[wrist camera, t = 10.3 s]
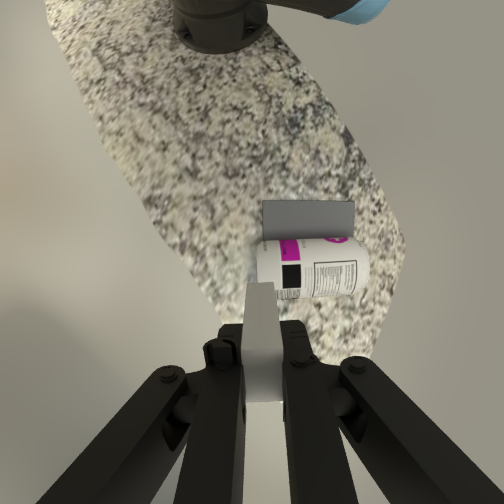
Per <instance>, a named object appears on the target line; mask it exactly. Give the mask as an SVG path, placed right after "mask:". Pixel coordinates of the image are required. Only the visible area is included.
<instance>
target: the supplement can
mask: <svg viewBox="0 0 504 504" xmlns="http://www.w3.org/2000/svg"><path fill="white" fill-rule="evenodd" d="M256 261H257V282H258V283H261V282H274V288H275V294H276V300H283V299H300V298H314V297H328V296H340V295H352V294H355V293H356V292H358V291H359V290H361V289H364V288H365V287H366V285H367V283H368V279H369V271H370V265H369V256H368V252H367V249H366V246H365V244H364V243H363V242H362V241H358V240H356V239H354V238H352V237H340V238H317V239H294V240H273V241H261V242H260V243H259V245H257V246H256Z"/></svg>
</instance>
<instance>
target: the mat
mask: <svg viewBox="0 0 504 504" xmlns="http://www.w3.org/2000/svg"><path fill="white" fill-rule="evenodd" d="M354 208H355V202H354V201H263V241H273V240H294V239H317V238H340V237H352V238H353V235H354Z"/></svg>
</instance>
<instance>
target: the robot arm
mask: <svg viewBox="0 0 504 504" xmlns="http://www.w3.org/2000/svg"><path fill="white" fill-rule="evenodd" d="M172 1H173V3H174V5H175V7H174V15H173V25H174V29H175V32H176V33H177V35H178V37H179V39H180V40H181V41H182V42H183V43H184V44H185V45H186V46H187V47H189V48H191V49H193V50H195V51H198V52H201V53H206V54H224V53H230V52H234V51H237V50H240V49H242V48H245V47H247V46H248V45H250V44H252V43H253V42H254V41H256V40H257V39H258V38H259V37H260V36H261V34H262V33H263V31H264V30H265V28H266V25H267V18H268V10H267V6H266V4H272V5H278V6H283V7H288V8H293V9H297V10H302V11H306V12H310V13H314V14H317V15H321V16H323V17H324V18H326V19H335V20H339V21H342V22H346V23H350V24H354V25H359V24H365V23H367V22H370V21H371V20H373V19H374V18H375V17H377V16H378V15H379V14H380V13H381V12H382V10H383V9H384V8H385V7H386V6H387V4H388V3H389V1H390V0H172ZM203 351H204V357H205V362H206V367H205V368H204V369H203V370H200V371H197V372H192V373H187V374H185V371H184V370H183V369H182V368H181V367H178V366H174V365H168V366H163V367H160V368H158V369H156V370H155V371H154V372H153V373H152V374H151V375H150V376H149V377H148V379H147V380H146V381H145V382H144V383H143V384H142V385H141V386H140V388H139V389H138V390H137V391H136V392H135V393H134V394H133V396H132V397H131V398H130V399H129V400H128V401H127V402H126V403H125V405H124V406H123V407H122V408H121V409H120V410H119V411H118V413H117V414H116V415H115V416H114V417H113V418H112V419H111V420H110V421H109V423H108V424H107V425H106V426H105V427H104V428H103V429H102V430H101V432H100V433H99V434H98V435H97V436H96V437H95V438H94V439H93V440H92V442H91V443H90V444H89V445H88V446H87V448H85V449H84V451H83V452H82V453H81V454H80V455H79V456H78V457H77V458H76V459H75V461H74V462H73V463H72V464H71V465H70V466H69V467H68V468H67V470H66V471H65V472H64V473H63V474H62V475H61V476H60V477H59V479H58V480H57V481H56V482H55V483H54V484H53V485H52V486H51V487H50V488H49V490H48V491H47V492H46V493H45V494H44V495H43V496H42V497H41V498H40V500H39V501H38V502H37V503H36V504H150V503H151V501H152V499H153V498H154V496H155V495H156V493H157V491H158V490H159V488H160V487H161V485H162V483H163V482H164V480H165V479H166V477H167V475H168V474H169V472H170V470H171V469H172V467H173V465H174V463H175V462H176V460H177V459H178V457H179V455H180V453H181V452H182V450H183V448H184V447H185V445H186V443H187V446H186V449H185V454H184V458H183V463H182V467H181V471H180V475H179V480H178V484H177V489H176V494H175V498H174V502H173V504H242V501H243V479H244V456H245V432H246V405H245V403H246V402H270V401H283V422H284V424H285V435H286V447H287V457H288V458H287V459H288V471H289V484H290V496H291V504H359V503H358V499H357V495H356V491H355V487H354V483H353V479H352V475H351V471H350V468H349V464H348V460H347V456H346V452H345V449H344V445H343V441H342V437H341V434H340V430H339V428H340V429H341V431H342V433H343V434H344V435H345V437H346V439H347V440H348V442H349V443H350V445H351V446H352V448H353V449H354V451H355V452H356V454H357V455H358V457H359V458H360V460H361V461H362V463H363V464H364V466H365V467H366V469H367V470H368V472H369V473H370V475H371V476H372V478H373V479H374V480H375V482H376V484H377V485H378V486H379V488H380V489H381V491H382V492H383V494H384V495H385V497H386V498H387V500H388V501H389V503H390V504H504V493H503V492H502V491H501V490H500V489H499V488H498V487H497V486H496V485H495V484H494V483H493V482H492V481H491V480H490V479H489V478H488V477H487V476H486V475H485V474H484V473H483V472H482V471H481V470H480V469H479V468H478V467H477V466H476V464H475V463H474V462H473V461H471V459H469V457H468V456H467V455H466V454H465V453H464V452H463V451H462V450H461V449H460V448H459V447H458V446H457V445H456V444H455V443H454V442H453V441H452V440H451V439H450V438H449V437H448V436H447V435H446V434H445V433H444V432H443V431H442V430H441V429H440V428H439V427H438V426H437V425H436V424H435V423H434V422H433V421H432V420H431V419H430V418H429V417H428V416H427V415H426V414H425V413H424V412H423V411H422V410H421V409H420V408H419V407H418V406H417V405H416V404H415V403H414V402H413V401H412V400H411V399H410V398H409V397H408V396H407V395H406V394H405V393H404V392H403V391H402V390H401V389H400V388H399V387H398V386H397V385H396V384H395V383H394V382H393V381H392V380H391V379H390V378H389V377H388V376H387V375H386V374H385V373H384V372H383V371H382V370H381V369H380V368H379V367H378V366H377V365H376V364H375V363H374V362H373V361H371V360H370V359H368V358H366V357H362V356H352V357H348V358H346V359H344V360H343V361H342V362H341V364H340V366H337V365H328V364H324V363H322V362H320V361H319V359H318V357H317V356H316V355H314V354H313V351H312V348H311V344H310V341H309V338H308V334H307V332H306V328H305V325H304V324H303V323H302V322H301V321H300V320H287V321H279V315H278V308H277V301H276V294H275V288H274V282H261V283H247V288H246V299H245V310H244V320H243V324H224V325H223V326H222V327H221V328H220V329H219V332H218V337H217V338H215V339H212V340H210V341H208V342H207V343H205V345H204V346H203ZM338 426H339V427H338Z"/></svg>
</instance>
